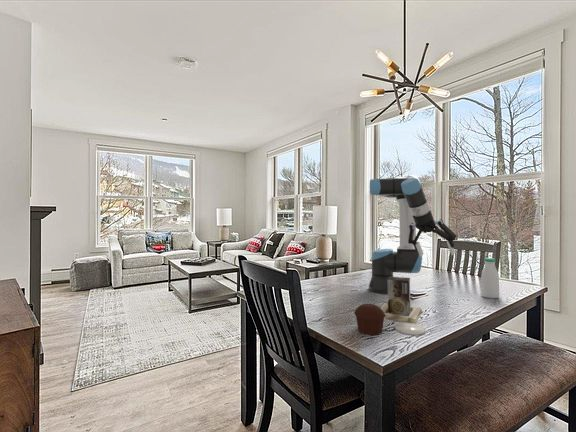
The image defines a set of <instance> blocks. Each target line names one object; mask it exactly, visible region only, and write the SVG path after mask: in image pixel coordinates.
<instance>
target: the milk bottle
mask: <svg viewBox="0 0 576 432" xmlns="http://www.w3.org/2000/svg"><path fill="white" fill-rule="evenodd" d="M484 263H485V264H484V267H483V268H482V271H481V275H480V276H481V279H480V280H481V281H480V282H481V284H480V285H481V286H480V289H481V296H482V297H483V298H487V299H488V298H489V299H499V297H500V275H499V271H498V270H497V269H498V268H497V267H496V258H493V257H485V258H484Z"/></svg>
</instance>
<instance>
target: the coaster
mask: <svg viewBox="0 0 576 432" xmlns="http://www.w3.org/2000/svg"><path fill="white" fill-rule="evenodd" d="M394 329H395V330H396V331H397V332H399V333H402V334H405V335H411V336H418V335H424V334H425V333H426V327H424V326H423V325H421V324H417V323H416V324H414V323H408V322H398V323H396V324H394Z"/></svg>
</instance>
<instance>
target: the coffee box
mask: <svg viewBox="0 0 576 432" xmlns="http://www.w3.org/2000/svg"><path fill="white" fill-rule="evenodd" d="M387 282H388V293H387V303H388V313H389V314H395V315H402V316H408V317H409V315H410V313H411V308H410V306H411V278H410V277H404V276H403V277H400V276H393V277H389V278H388V280H387Z"/></svg>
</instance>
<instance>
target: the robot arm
mask: <svg viewBox="0 0 576 432" xmlns="http://www.w3.org/2000/svg"><path fill="white" fill-rule="evenodd" d="M369 194H370V195H371V196H379V197H384V198H391V199H392V198H394V199H396V202H397V203H398V205H399V206H398V207H399V210H398V211H399V218H398V219H399V246H398V247H397V248H396V251H394V249H393V248H382V249H381V248H379V249H375V250H374V251H372V253H371V258H370V260H371V278H370V280H369V283H368V291H371V292H372V291H373V292H372V293H376V292H377V294H378V293H379V294H388V282H387V280H388V278H389V277H394V273H400V274H419V273H420V272H421V269H422V265H423V255H424V254H425V253H424V251H423V249H422V246H421V243H420V241H418V240H419V237H421V235H422V233H423V234H424V233H433V234H436V235H439V237H440V238H443V239H444V240H445V241H446V244H447V247H448V249H449V252H450V255H451V256H454V255H455V252H456V251H455V249H454V247H455V242H454V241H455V240H456V239H457V234H455V232H454V231H452V230H451V228H449V227H448V225H446V224H445V222H444V221H443V219H442V218H439V220H435V219H434V217H433V214H432V211H431V210H430V209H431V208H430V206H429V203H428V201H427V198H426V195H425V192H424V189H423V187H422V183H421V181H420V179H419V177H417V176H416V175H413V174H411V175H410V174H409V175H407V176H395V177H385V178H373V179H370V180H369ZM417 229H418V231H417Z"/></svg>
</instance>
